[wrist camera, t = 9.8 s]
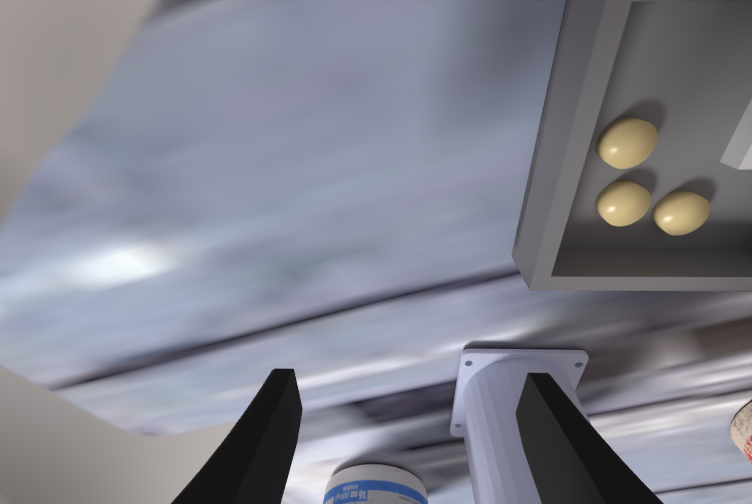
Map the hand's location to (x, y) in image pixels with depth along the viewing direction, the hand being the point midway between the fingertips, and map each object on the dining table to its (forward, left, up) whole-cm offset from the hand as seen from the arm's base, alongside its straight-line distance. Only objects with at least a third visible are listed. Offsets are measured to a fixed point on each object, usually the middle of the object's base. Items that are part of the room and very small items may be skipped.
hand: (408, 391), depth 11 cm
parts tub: (+5, -12, -9) cm, 16 cm away
